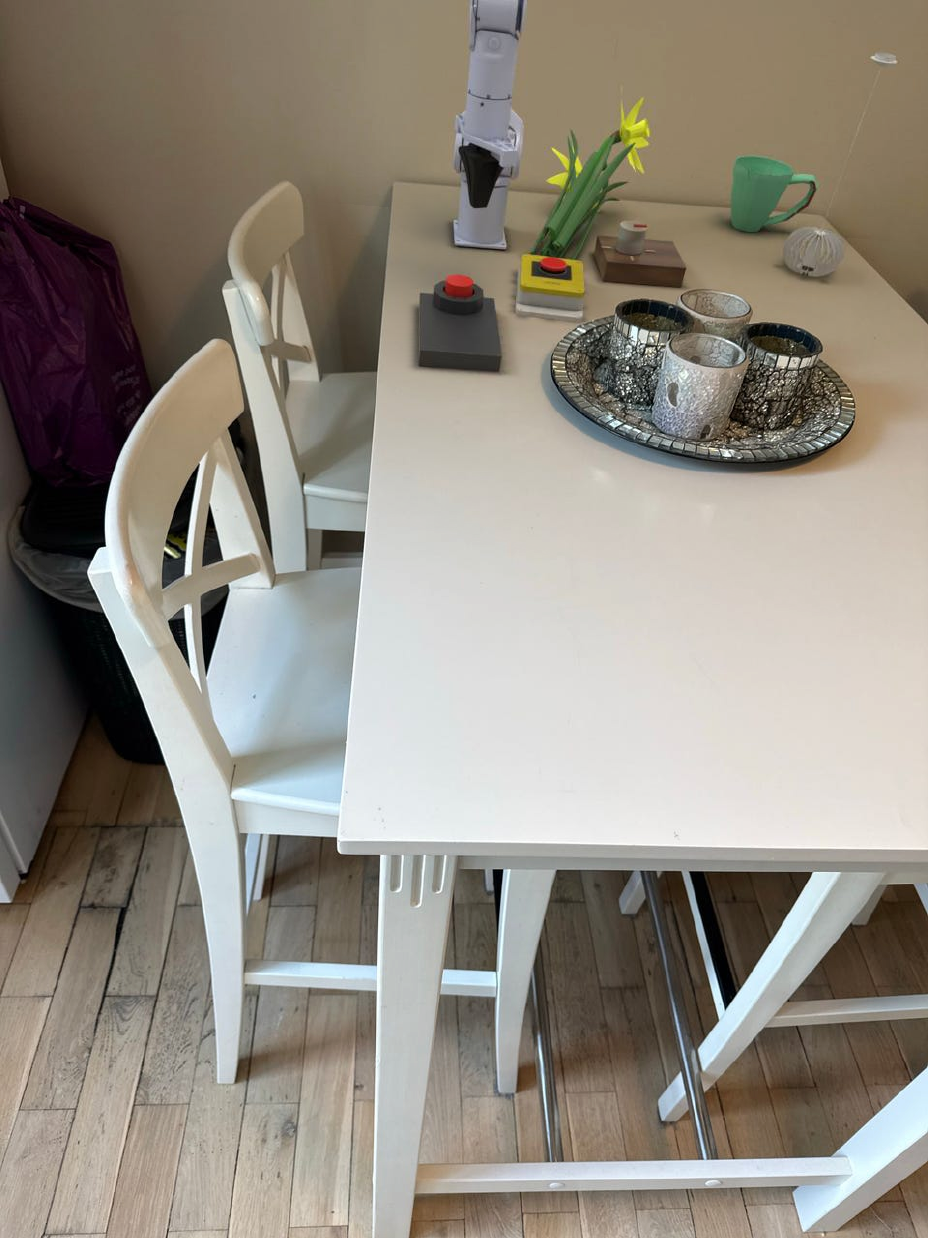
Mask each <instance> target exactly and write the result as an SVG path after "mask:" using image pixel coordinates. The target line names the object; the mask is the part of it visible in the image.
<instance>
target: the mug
mask: <svg viewBox="0 0 928 1238" xmlns="http://www.w3.org/2000/svg"><path fill="white" fill-rule="evenodd" d="M732 170H733V171H732V185H731V192H730V218H731V225H732V227H733V228H734V229H737V230H738V231H742V232H746V233H755V232H758V231H760V229H761V228H766V227H769V226H773V225H777V224H782V223H784V222H787V221H789V220H791V219H792V218H793V217H795V216H796V215H798V214H799V213H801V212H802V211H803V210H805V209H807V208H808V207H809V206H810V204H811V202H812V201H813V198H814V197H815V194H816V192H817V191H818V188H819V184H818V182H817V180H816V177H815V176H814V174H807V173H798V174H794V173H795V171H794V168H793V167H792V166H790V165H789V164H788V163H786V162H783V161H781V160H778V159H774V158H770V157H766V156H760V155H759V156H758V155H743V156H738V157H736V158H735V159H734V164H733V169H732ZM796 184H805V185H806V184H807V185H809V190H808V192H807V194H806V196H805V197H804V198H803V199H801V200H800V201H799V202H798V203H796V204H795V205H794V206H793V207H792V208H791V209H789V210H788V211H786V212H785V213H780V214H777V215H774V216H771V215H772V213H773V212H774V210H775V209H776V207H777V206H778V204H779V202H780V200H781V198H782V196H783V194H784V192H785V190H786V189H787V187H788V186H790V185H796Z"/></svg>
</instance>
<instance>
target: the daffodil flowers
mask: <svg viewBox="0 0 928 1238" xmlns="http://www.w3.org/2000/svg"><path fill="white" fill-rule="evenodd" d="M620 91H621V92H620V94H622V93H623V92H622V91H623V86H622V85H621V86H620ZM643 102H644V96H642V97H641V98H640V99H639V100H638V101H637V102H636V103H635V105H634V106H633V108H631V110H630V112H629V113H628V114H627V116H626V118H625V112H624V107H623V100H620V112H621V114H620V115H621V119H620V127H619V129H618V130H615V131H614V132H613V133H612V134H610V135H609V136H608V137H607V138H606V139H605V140H604V142H603V143H602V145H601V146H600V148H599V149H598V151H593V152H591V154H590V156H589V157H588V159H586V162H585V164H584V165H583V166H582V163H581V161H580V159H579V156H578V153H579V143H578V139H577V138H576V135H575V133H574V131H573V129H572V128H570V129H569V130H570V135H571V140H570V137H569V136H567V147H568V152H569V158H567V156H565V155H564V154H563V153H561V152H560V151H559V150H557V149H556V148H554V147H551V150H552V152H553V153H554V154H555V155H556V156H557V157H558V159H559V160H560V162H561V163H562V165H563V167H564V168H565V170H566V171H565V172H561V173H559V174H556V175H553V176H551V177H549V178H547V179H546V182H547V183H548V184H552V185H557V186H559V187H560V190H561V191H560V194H559V196H558V198H557V200H556V202H555V204H554V205H553V208H552V209H551V212H550V214H549V216H548V218H547V220H546V222H545V223H544V226H543V228H542V230H541V232H540V234H539V236H538V238H537V239H536V241H535V243H534V245H533V246H532V248H531V250H530V252H529V253H528V254H529V255H534V253H535V251H536V249H537V248H538V246H539V244H542V243H543V241H544V240H545V239H546V237H547V235H548V236H549V237H548V239H547V240H546V241H545V244H544V246H543V247H542V249H541V251H540V253H539V254H540V256H546V257H554V258H562V259H563V256H564V255H565V253H566V251H567V249H568V248H569V247H570V245H571V243H572V242H573V240H574V239H575V237H576V236H577V235H578V234H579V232H580V231H581V230H582V228H583V227H584V225H585V224H586V223H587V222H588V223H587V224H586V227H585V230H584V232H583V234H582V235H581V238H580V240H579V242H578V244H577V246H576V248H575V250H574V252H573V254H572V256H571V258H570V260H577V257H578V254H579V253H580V251H581V249H582V247H583V245H584V243H585V241H586V239H587V236H588V234H589V232H590V230H591V228H592V225H593V224H594V221H595V219H596V217H597V215H598V213H600V208H601V207H602V206H603V205H604V204H605V203H606V202H620V199H618V198H616V197H614V196H613V197H612V196H611V197H606V196H607V194H608V193H610V192H611V191H613V190H614V189H617V188H620V187H621V186H623V185H626V184H628V183H629V181H617V182H613V183H611V184H609V181H610V178H611V177H612V176H613V174H614V173H615V171H616V170H617V169H618V167H619V166H620V165H621V164H622V162H623V161H624V159H625V158H626V157H627V159H628V161H629V164H630V165H631V167H632V168H633V169H634V171H635V173H636V172H637V170H639V172H641V173H642V174H645V171H644V168H643V164H642V162H641V160H640V157H639V155H638V152H637V149H641V148H644V147H647V146H649V145H650V143H649V141H647V139H645V138H650V137H651V134H650V133H651V131H650V129H651V128H649V127H650V124H648V123H649V121H648V118H647V117H645V118H643V119H642V120H640V121H639V122H637V123H636V120H637V118H638V114H639V111H640V108H641V106H642V104H643ZM571 141H572V142H571ZM621 142H622V144H623V145H624V147H625V148H624V149H622V151H621V152H619V153H618V154H617V155H616V156H615V157H614V158H612V160H611V161H610V162H609V163H607V162H608V161H607V160H608V158H609V156H610V153H611V150H612V148H613V146H614V145H616V144H619V143H621ZM572 143H573V144H572ZM636 148H637V149H636ZM636 169H637V170H636Z"/></svg>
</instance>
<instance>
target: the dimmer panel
mask: <svg viewBox="0 0 928 1238" xmlns="http://www.w3.org/2000/svg"><path fill="white" fill-rule="evenodd" d="M595 241H596V242H595V247H594V252H593V256H594V259H595V263H596V265H597V267H598V270H599V273H600V277H601V279H602V281H603V282H607V283H620V284H621V283H622V284H633V285H645V286H646V285H647V286H657V287H673V288H682V286H683V282H684V278H685V275H686V271H687V266H686V264H685V261H684V260H683V258H682V256H681V254H680V253H679V251H678V249H677V247H676V245H675V243H674V241H672V240H660V239H650V238H649V239H647V238H644V243H643V247H642V251H641V253H640V254H637V255H628V254H624V253H621V252H619V251H617V250H616V249H615V246H616V241H617V236H612V235H599V234H598V235H597V236H596V240H595Z"/></svg>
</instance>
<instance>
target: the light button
mask: <svg viewBox="0 0 928 1238" xmlns="http://www.w3.org/2000/svg"><path fill="white" fill-rule="evenodd" d="M445 281H446V285H445V293H446V294H447V295H450V296H453V297H463V298H465V297H470V296H472V292H473V283H474V280H473V278H471V277H470V276H468V275H465V274H464V275H463V274H451V275H448V276H446V278H445Z"/></svg>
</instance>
